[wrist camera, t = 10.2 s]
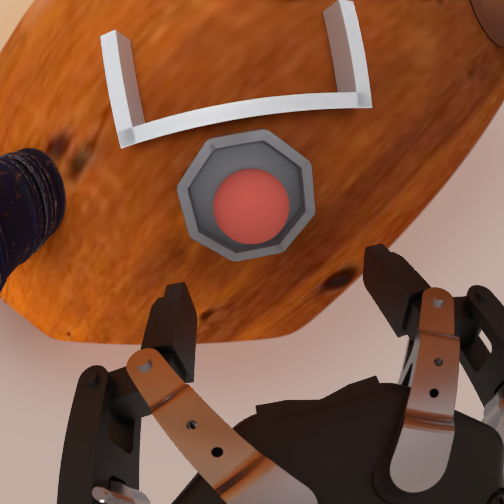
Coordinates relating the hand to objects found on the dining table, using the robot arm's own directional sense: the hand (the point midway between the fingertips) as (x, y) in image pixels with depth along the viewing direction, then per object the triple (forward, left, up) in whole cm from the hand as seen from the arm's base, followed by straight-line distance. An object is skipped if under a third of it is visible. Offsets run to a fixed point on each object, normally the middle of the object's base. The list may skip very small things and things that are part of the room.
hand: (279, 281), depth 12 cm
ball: (0, 0, -12) cm, 12 cm away
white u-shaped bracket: (-1, -11, -13) cm, 17 cm away
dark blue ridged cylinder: (+21, -6, -13) cm, 26 cm away
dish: (0, 0, -13) cm, 13 cm away
